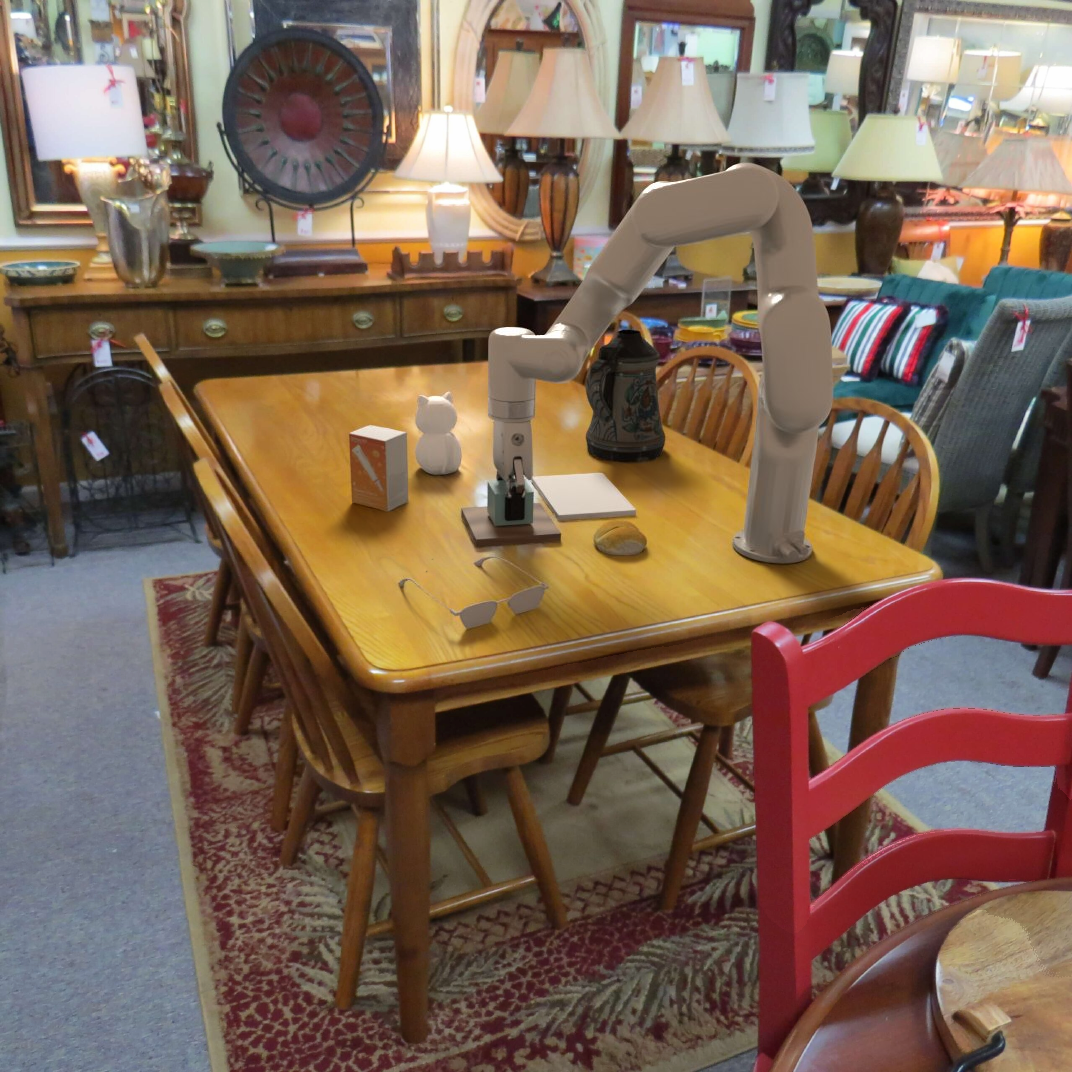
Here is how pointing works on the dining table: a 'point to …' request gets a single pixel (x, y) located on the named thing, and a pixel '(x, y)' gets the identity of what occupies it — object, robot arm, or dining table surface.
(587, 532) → the dining table surface
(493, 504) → the cube
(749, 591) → the dining table surface
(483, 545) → the post stand
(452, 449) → the cat figurine
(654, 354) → the beer stein
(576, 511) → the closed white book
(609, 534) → the bread roll
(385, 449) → the small box
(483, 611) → the eyeglasses
